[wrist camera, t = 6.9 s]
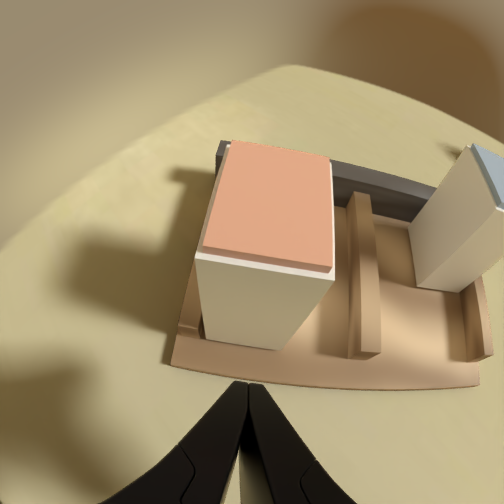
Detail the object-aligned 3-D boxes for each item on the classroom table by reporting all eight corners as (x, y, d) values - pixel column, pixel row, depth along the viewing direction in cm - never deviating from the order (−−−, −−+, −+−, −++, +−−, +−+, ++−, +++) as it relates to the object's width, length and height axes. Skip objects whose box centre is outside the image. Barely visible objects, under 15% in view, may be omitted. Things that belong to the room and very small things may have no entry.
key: (280, 350, 16) (339, 274, 8) (206, 339, 16) (193, 250, 8) (288, 269, 19) (334, 155, 11) (222, 258, 19) (227, 136, 11)
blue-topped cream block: (458, 292, 19) (540, 222, 11) (416, 286, 19) (500, 204, 11) (446, 236, 21) (510, 160, 14) (407, 227, 21) (469, 139, 14)
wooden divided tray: (474, 386, 16) (508, 375, 13) (171, 366, 16) (160, 352, 13) (449, 223, 24) (470, 198, 21) (219, 174, 23) (221, 139, 20)
